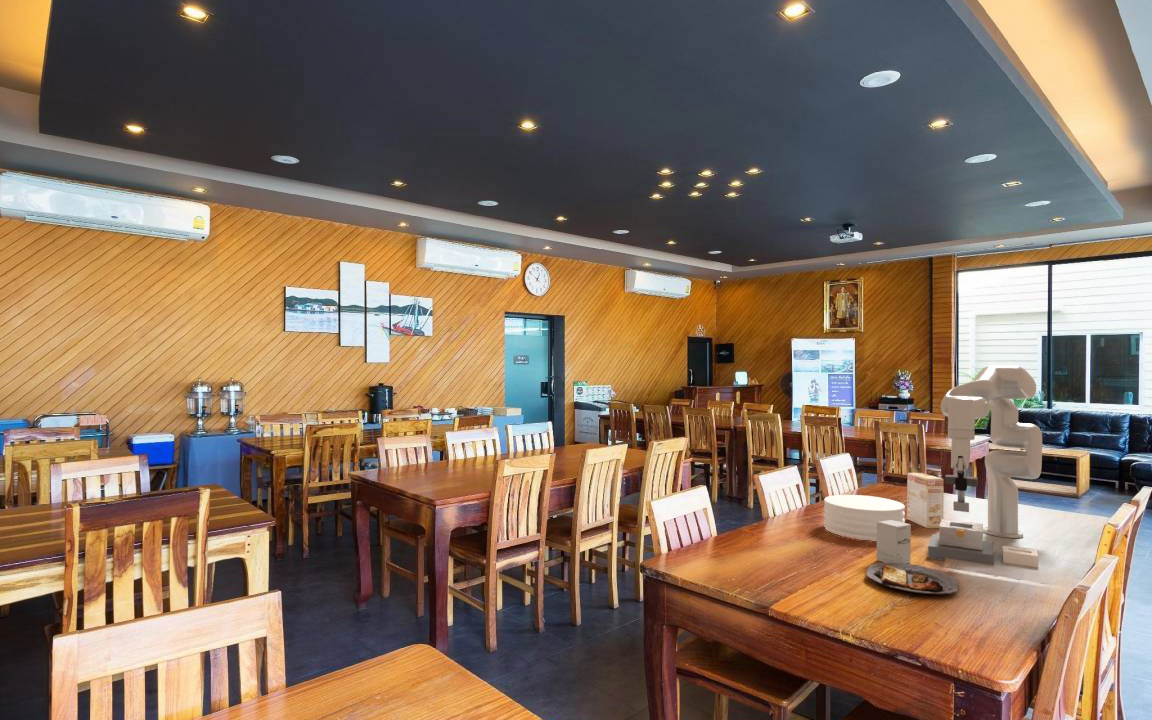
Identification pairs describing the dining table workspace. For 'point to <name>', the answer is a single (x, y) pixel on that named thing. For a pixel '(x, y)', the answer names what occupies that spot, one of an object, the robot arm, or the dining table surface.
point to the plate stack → (860, 515)
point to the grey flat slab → (961, 552)
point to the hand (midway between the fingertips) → (961, 488)
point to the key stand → (1020, 556)
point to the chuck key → (961, 493)
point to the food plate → (912, 578)
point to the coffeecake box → (925, 499)
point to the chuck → (961, 534)
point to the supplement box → (893, 542)
